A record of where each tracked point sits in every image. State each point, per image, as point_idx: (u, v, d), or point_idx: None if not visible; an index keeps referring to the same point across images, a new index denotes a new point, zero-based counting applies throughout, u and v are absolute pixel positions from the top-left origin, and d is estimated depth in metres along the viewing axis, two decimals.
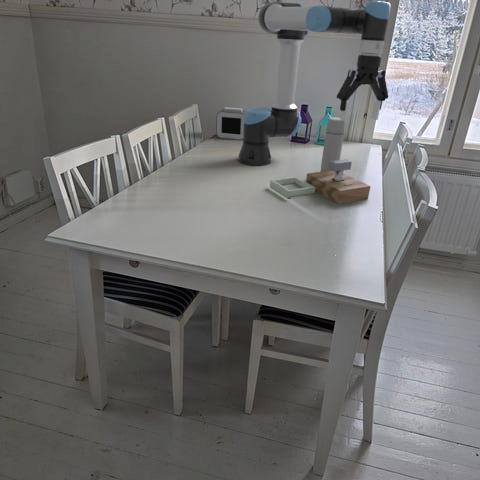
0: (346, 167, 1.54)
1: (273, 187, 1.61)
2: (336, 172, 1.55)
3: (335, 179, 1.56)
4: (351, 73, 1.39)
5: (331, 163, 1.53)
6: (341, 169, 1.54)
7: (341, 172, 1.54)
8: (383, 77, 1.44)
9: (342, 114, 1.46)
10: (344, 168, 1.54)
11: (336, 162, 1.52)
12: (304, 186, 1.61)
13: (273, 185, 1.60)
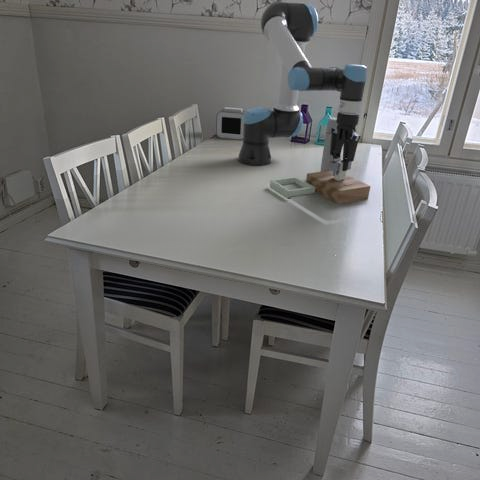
0: None
1: (273, 187, 1.61)
2: (336, 172, 1.55)
3: (335, 179, 1.56)
4: None
5: (331, 163, 1.53)
6: None
7: None
8: (352, 140, 1.45)
9: None
10: None
11: (336, 162, 1.52)
12: (304, 186, 1.61)
13: (273, 185, 1.60)
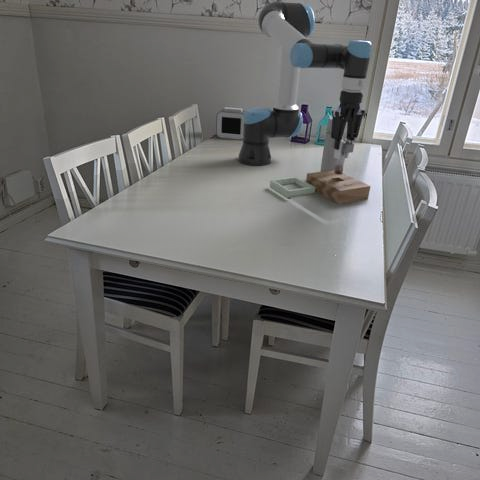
0: None
1: (273, 187, 1.61)
2: (344, 153, 1.51)
3: (343, 160, 1.53)
4: (335, 115, 1.43)
5: (350, 145, 1.48)
6: None
7: None
8: (361, 115, 1.48)
9: (336, 152, 1.52)
10: None
11: (349, 143, 1.49)
12: (304, 186, 1.61)
13: (273, 185, 1.60)
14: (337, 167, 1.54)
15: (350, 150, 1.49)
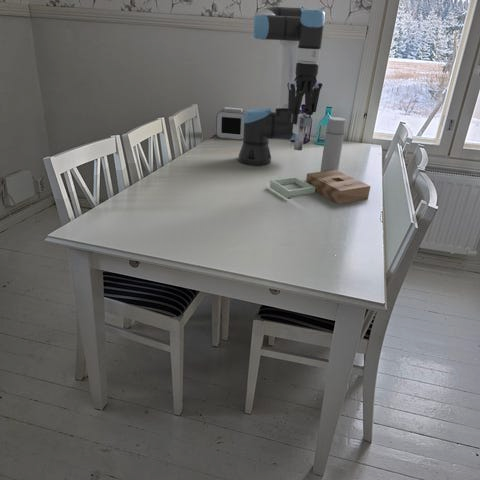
0: None
1: (273, 187, 1.61)
2: (303, 128, 1.49)
3: (302, 135, 1.50)
4: (290, 88, 1.40)
5: (307, 119, 1.45)
6: None
7: None
8: (318, 89, 1.45)
9: (294, 127, 1.49)
10: None
11: (307, 117, 1.46)
12: (304, 186, 1.61)
13: (273, 185, 1.60)
14: (296, 142, 1.51)
15: (308, 124, 1.46)
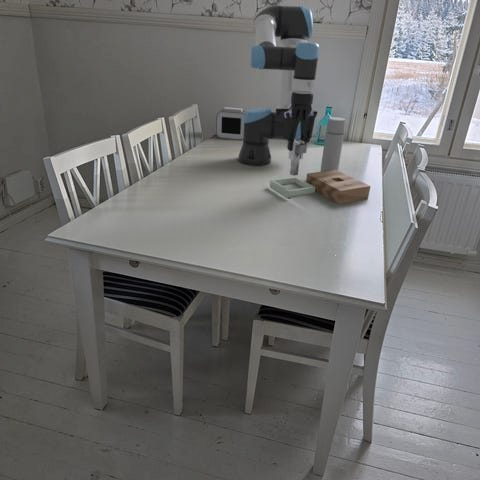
0: None
1: (273, 187, 1.61)
2: (298, 154, 1.53)
3: (298, 161, 1.54)
4: (286, 116, 1.45)
5: (302, 146, 1.49)
6: None
7: None
8: (313, 117, 1.49)
9: (290, 153, 1.53)
10: None
11: (302, 143, 1.50)
12: (304, 186, 1.61)
13: (273, 185, 1.60)
14: (292, 167, 1.55)
15: (303, 151, 1.50)
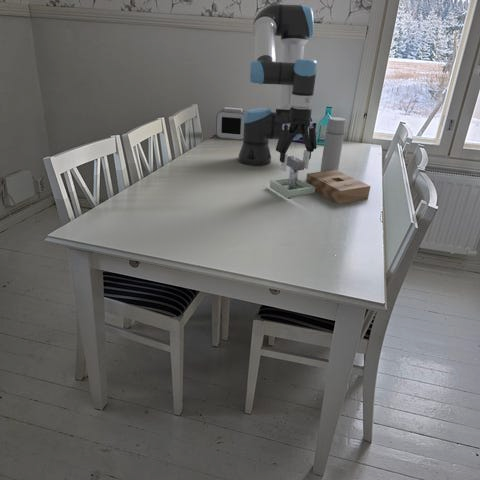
0: None
1: (273, 187, 1.61)
2: (296, 170, 1.56)
3: (296, 177, 1.57)
4: (283, 128, 1.46)
5: (300, 163, 1.52)
6: None
7: None
8: (314, 128, 1.52)
9: (282, 165, 1.54)
10: None
11: (300, 160, 1.53)
12: (304, 186, 1.61)
13: (273, 185, 1.60)
14: (290, 183, 1.58)
15: (301, 168, 1.53)
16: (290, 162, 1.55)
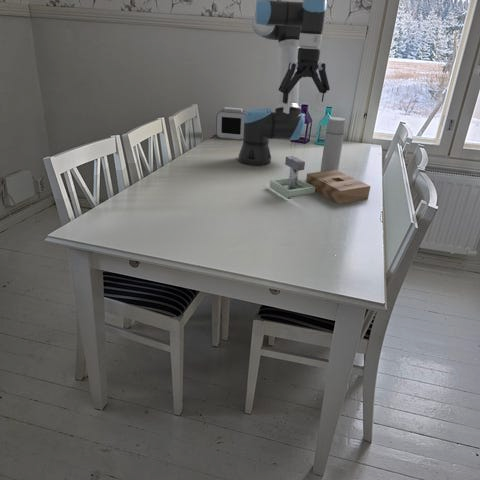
0: None
1: (273, 187, 1.61)
2: (296, 170, 1.56)
3: (296, 177, 1.57)
4: (291, 66, 1.41)
5: (300, 163, 1.52)
6: None
7: None
8: (323, 69, 1.46)
9: (285, 107, 1.48)
10: None
11: (300, 161, 1.53)
12: (304, 186, 1.61)
13: (273, 185, 1.60)
14: (290, 184, 1.58)
15: (301, 168, 1.53)
16: (290, 162, 1.55)
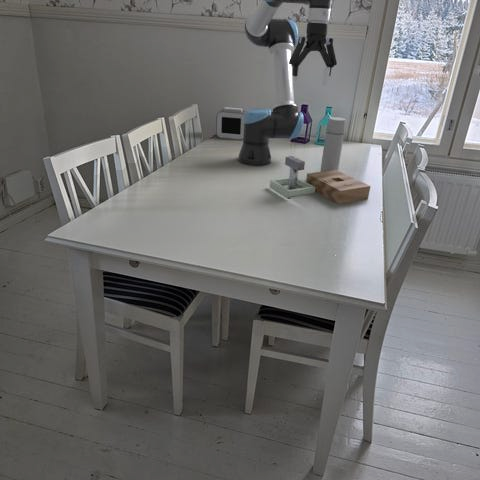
0: None
1: (273, 187, 1.61)
2: (296, 170, 1.56)
3: (296, 177, 1.57)
4: (301, 40, 1.48)
5: (300, 163, 1.52)
6: None
7: None
8: (331, 44, 1.54)
9: (295, 80, 1.55)
10: None
11: (300, 160, 1.53)
12: (304, 186, 1.61)
13: (273, 185, 1.60)
14: (290, 183, 1.58)
15: (301, 168, 1.53)
16: (290, 162, 1.55)
